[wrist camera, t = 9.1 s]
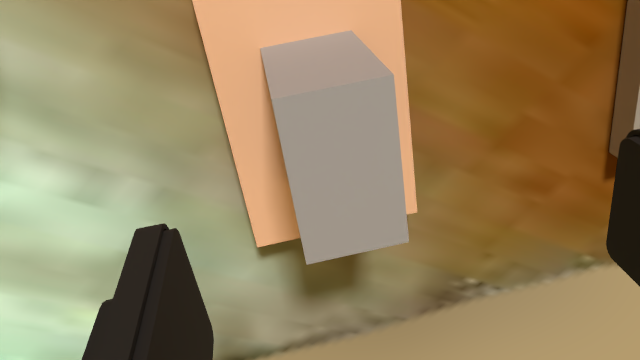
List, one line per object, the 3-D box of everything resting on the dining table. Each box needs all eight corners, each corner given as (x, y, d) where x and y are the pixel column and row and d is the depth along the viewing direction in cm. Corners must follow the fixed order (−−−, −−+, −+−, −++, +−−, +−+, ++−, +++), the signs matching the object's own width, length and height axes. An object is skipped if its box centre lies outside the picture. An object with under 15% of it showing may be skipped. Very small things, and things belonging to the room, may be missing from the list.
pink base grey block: (385, -66, 17) (458, -50, 12) (408, 197, 22) (467, 295, 16) (188, -29, 17) (169, 4, 11) (255, 230, 21) (265, 341, 16)
